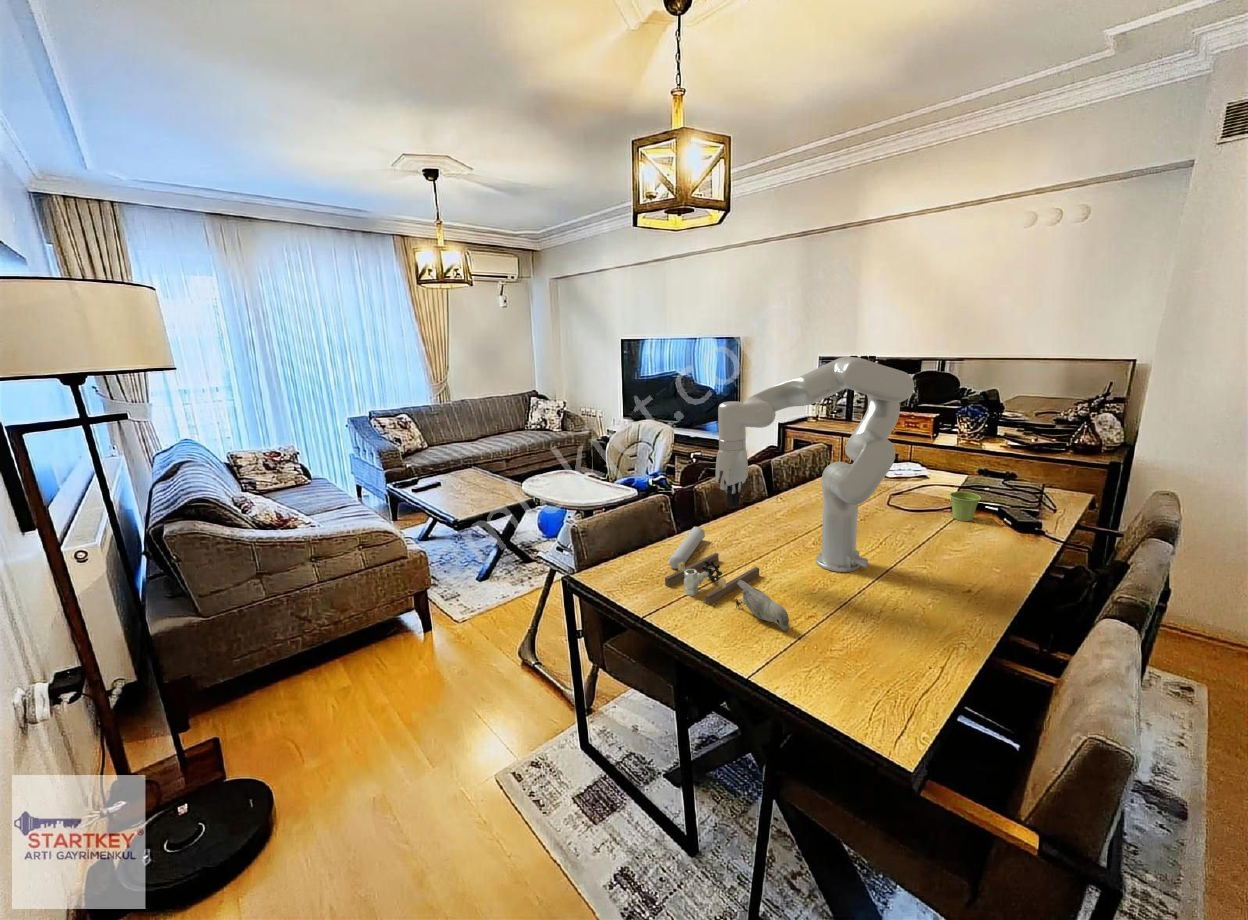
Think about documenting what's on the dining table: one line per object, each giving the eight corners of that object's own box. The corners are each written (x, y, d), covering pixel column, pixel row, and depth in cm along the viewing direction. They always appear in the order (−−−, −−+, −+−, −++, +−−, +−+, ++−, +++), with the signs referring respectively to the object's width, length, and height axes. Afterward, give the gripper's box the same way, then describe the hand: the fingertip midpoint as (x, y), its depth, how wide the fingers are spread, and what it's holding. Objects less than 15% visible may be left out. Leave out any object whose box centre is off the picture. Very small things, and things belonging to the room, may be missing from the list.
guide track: (759, 575, 152) (759, 560, 151) (708, 605, 138) (708, 588, 137) (715, 559, 164) (715, 545, 163) (665, 585, 150) (664, 570, 149)
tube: (684, 560, 157) (707, 530, 179) (668, 553, 158) (692, 524, 180) (680, 575, 159) (702, 543, 180) (664, 567, 160) (688, 537, 182)
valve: (695, 599, 141) (722, 584, 149) (695, 577, 140) (722, 563, 147) (677, 591, 146) (704, 577, 154) (677, 570, 145) (704, 556, 152)
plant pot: (978, 516, 186) (980, 493, 184) (978, 525, 178) (981, 501, 176) (947, 512, 191) (949, 490, 189) (947, 521, 183) (949, 498, 181)
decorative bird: (778, 636, 123) (779, 608, 121) (731, 608, 136) (731, 583, 134) (794, 629, 125) (795, 601, 123) (747, 602, 139) (746, 577, 137)
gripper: (737, 438, 155) (738, 496, 160) (705, 448, 146) (707, 509, 150) (758, 441, 150) (758, 501, 154) (726, 451, 140) (727, 514, 145)
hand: (733, 504), depth 152 cm, fingers closed
